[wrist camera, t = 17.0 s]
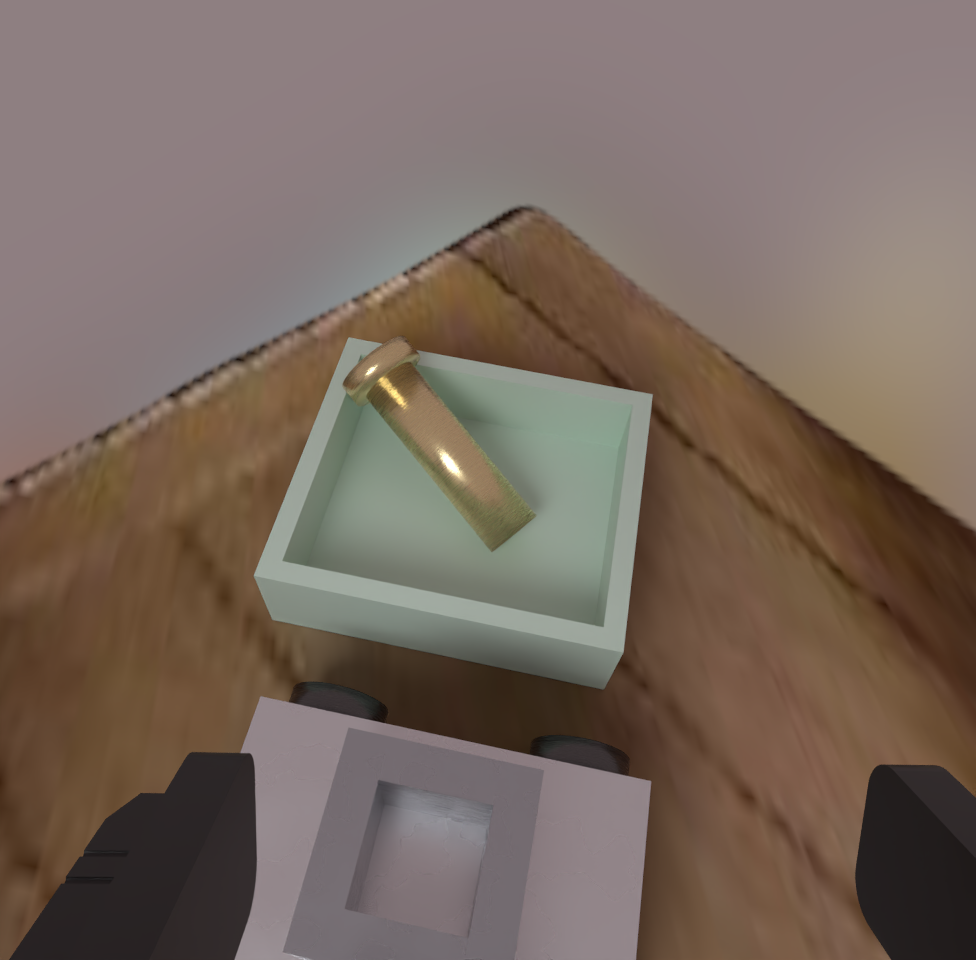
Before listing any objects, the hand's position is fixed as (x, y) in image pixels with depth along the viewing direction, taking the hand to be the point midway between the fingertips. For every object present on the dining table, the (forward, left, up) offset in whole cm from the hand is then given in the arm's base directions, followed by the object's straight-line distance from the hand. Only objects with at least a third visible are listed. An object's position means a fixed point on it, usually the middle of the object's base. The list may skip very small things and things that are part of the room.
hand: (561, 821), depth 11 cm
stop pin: (-2, +18, -26) cm, 32 cm away
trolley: (-3, +2, -28) cm, 28 cm away
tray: (-5, +20, -28) cm, 35 cm away
